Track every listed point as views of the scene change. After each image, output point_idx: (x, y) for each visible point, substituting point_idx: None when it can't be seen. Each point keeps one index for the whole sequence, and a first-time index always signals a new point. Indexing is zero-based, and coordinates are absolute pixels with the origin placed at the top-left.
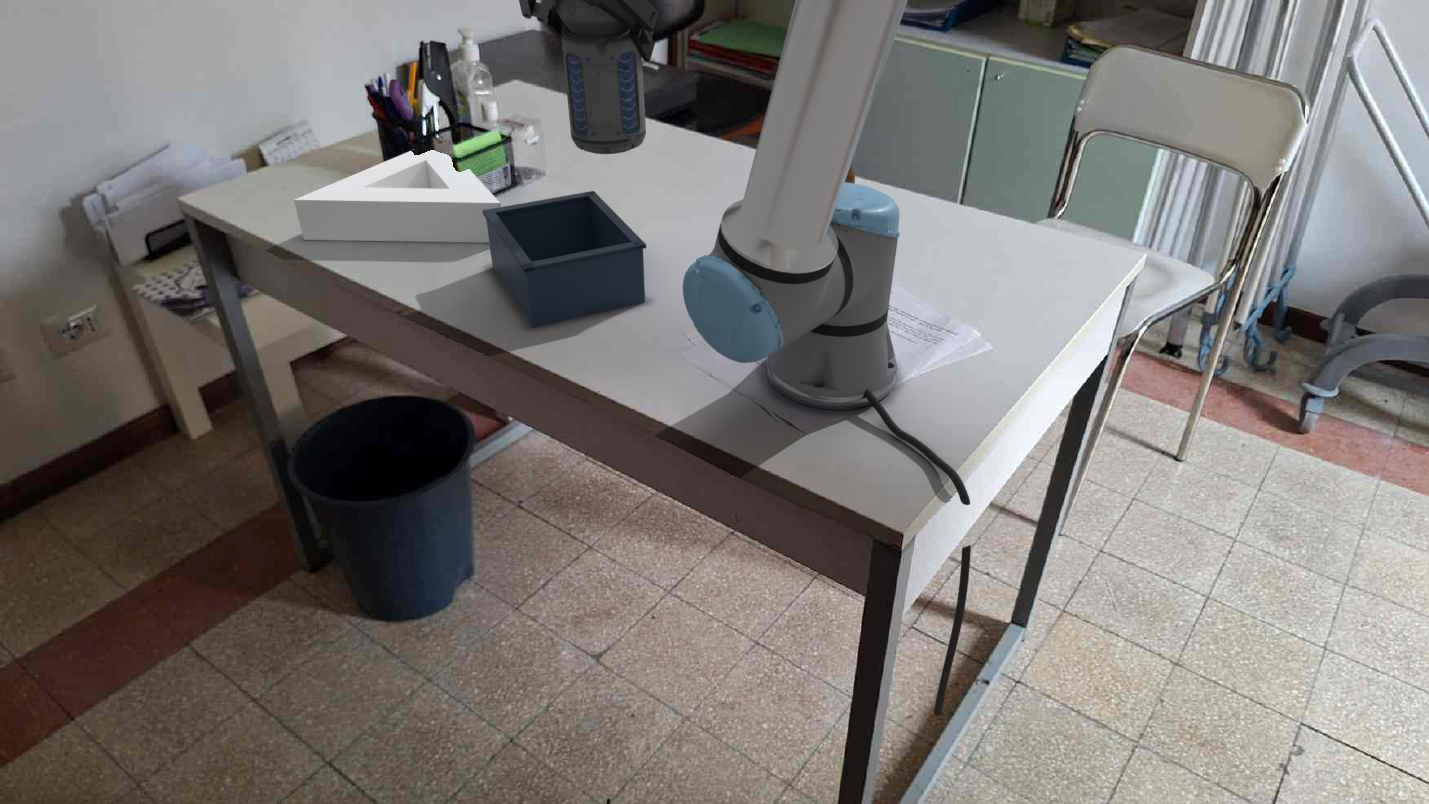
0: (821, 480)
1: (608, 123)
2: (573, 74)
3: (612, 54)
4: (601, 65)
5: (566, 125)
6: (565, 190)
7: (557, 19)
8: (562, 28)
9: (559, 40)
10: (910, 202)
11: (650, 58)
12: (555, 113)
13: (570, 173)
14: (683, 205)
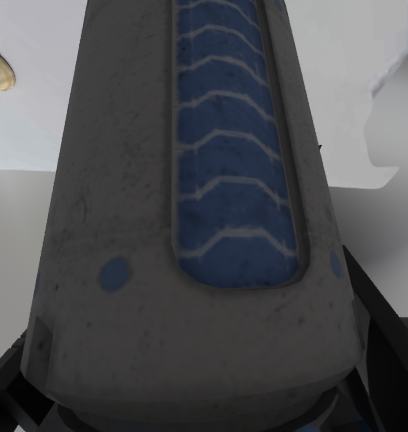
0: None
1: (90, 24)
2: (251, 168)
3: (32, 304)
4: (59, 245)
5: (358, 165)
6: (340, 71)
7: (399, 410)
8: (365, 341)
9: (373, 293)
10: None
11: None
12: (370, 174)
13: (341, 106)
14: None
